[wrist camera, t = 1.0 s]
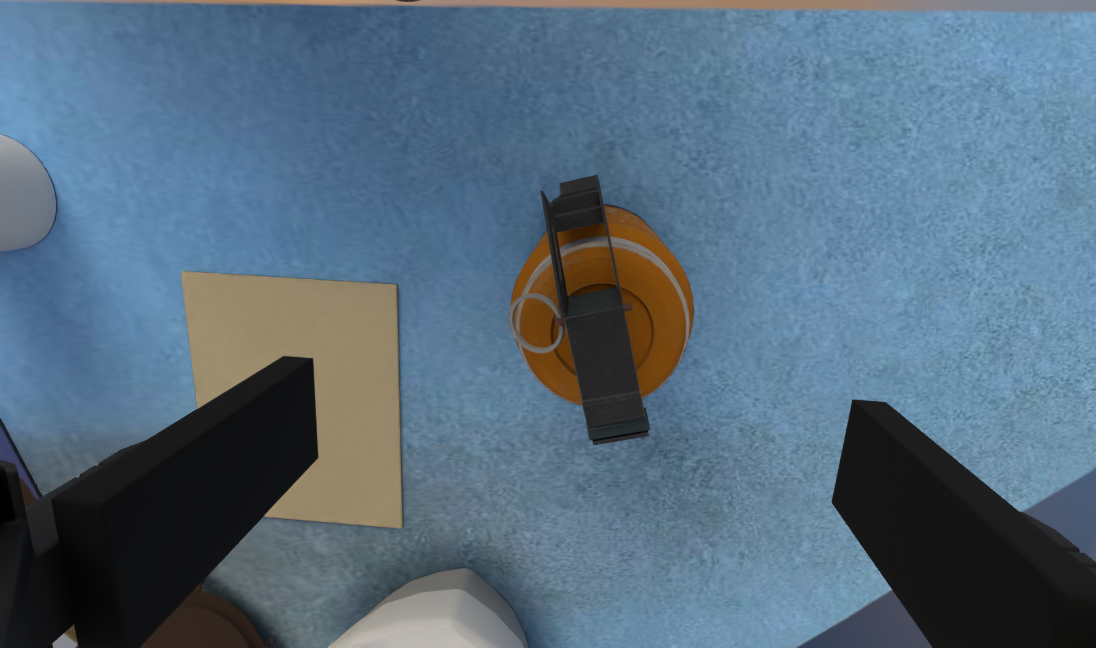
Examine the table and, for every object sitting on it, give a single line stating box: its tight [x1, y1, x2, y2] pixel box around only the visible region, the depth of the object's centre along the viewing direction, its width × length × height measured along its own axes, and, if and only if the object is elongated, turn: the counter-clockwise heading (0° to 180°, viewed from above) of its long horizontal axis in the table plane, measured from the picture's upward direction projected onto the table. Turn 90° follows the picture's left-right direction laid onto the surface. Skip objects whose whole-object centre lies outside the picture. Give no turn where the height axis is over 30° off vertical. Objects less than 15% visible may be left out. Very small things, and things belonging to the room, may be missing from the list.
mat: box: [181, 271, 403, 529], centre depth 46 cm, size 20×16×1 cm
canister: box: [509, 175, 694, 445], centre depth 32 cm, size 9×11×20 cm
